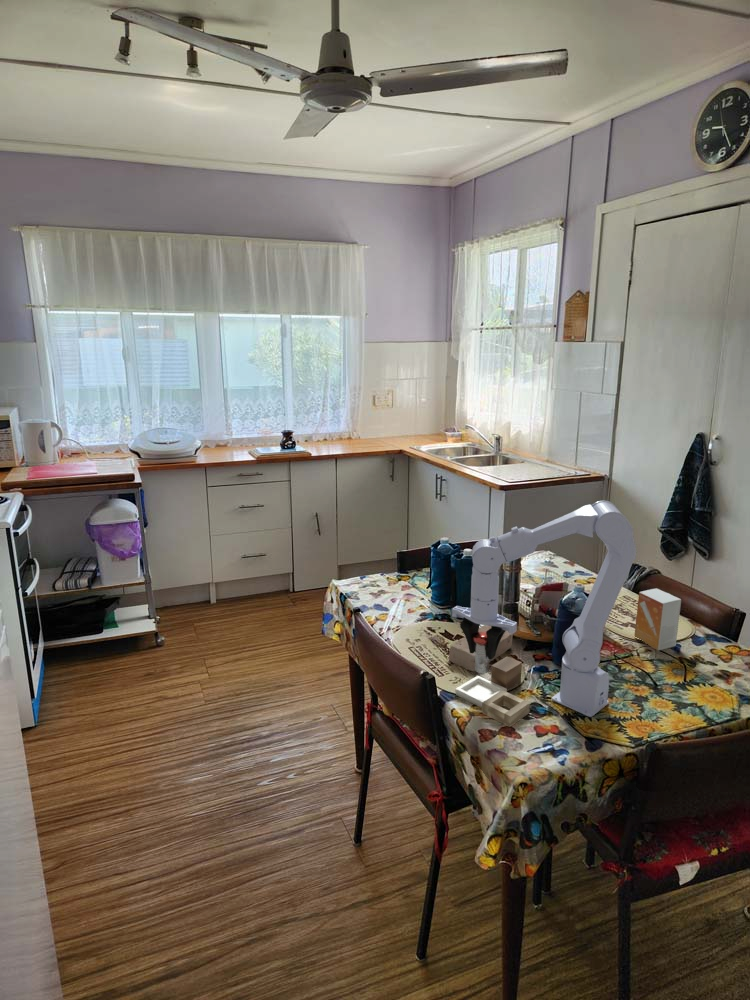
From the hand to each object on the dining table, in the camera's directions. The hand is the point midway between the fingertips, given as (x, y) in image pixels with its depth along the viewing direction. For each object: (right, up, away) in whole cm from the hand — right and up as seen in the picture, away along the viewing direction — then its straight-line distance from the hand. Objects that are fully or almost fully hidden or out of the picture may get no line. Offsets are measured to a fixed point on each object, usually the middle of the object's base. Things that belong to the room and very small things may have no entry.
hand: (482, 654), depth 140 cm
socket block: (+4, -11, -4) cm, 13 cm away
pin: (0, -3, 0) cm, 4 cm away
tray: (0, -10, +3) cm, 10 cm away
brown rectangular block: (+7, -8, +7) cm, 13 cm away
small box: (+49, -3, +26) cm, 55 cm away
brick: (+3, -5, +21) cm, 22 cm away
